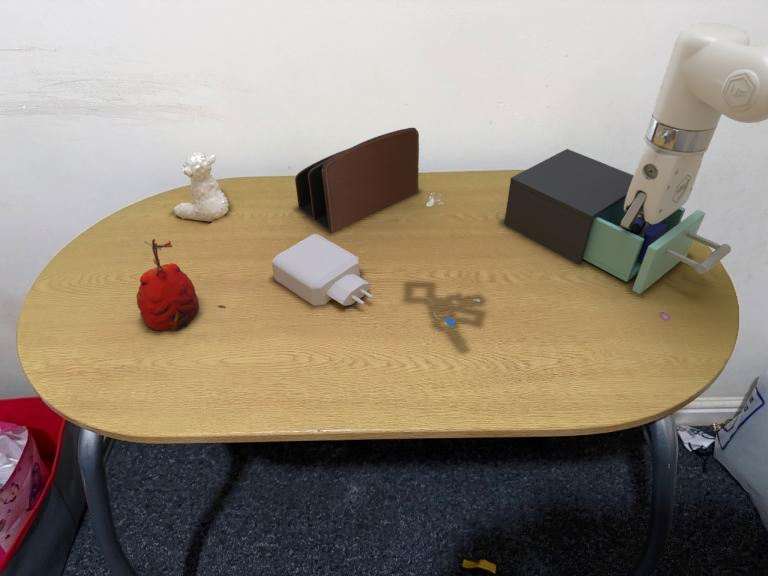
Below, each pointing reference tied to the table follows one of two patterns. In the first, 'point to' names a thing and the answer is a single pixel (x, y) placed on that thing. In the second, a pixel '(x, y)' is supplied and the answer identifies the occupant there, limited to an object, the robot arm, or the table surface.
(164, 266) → the red lumpy rounded piece
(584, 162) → the housing
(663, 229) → the cube
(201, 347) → the table surface
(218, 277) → the table surface
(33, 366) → the table surface
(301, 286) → the charger
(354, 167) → the letter holder
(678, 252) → the mint green drawer
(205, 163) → the sitting furry creature
